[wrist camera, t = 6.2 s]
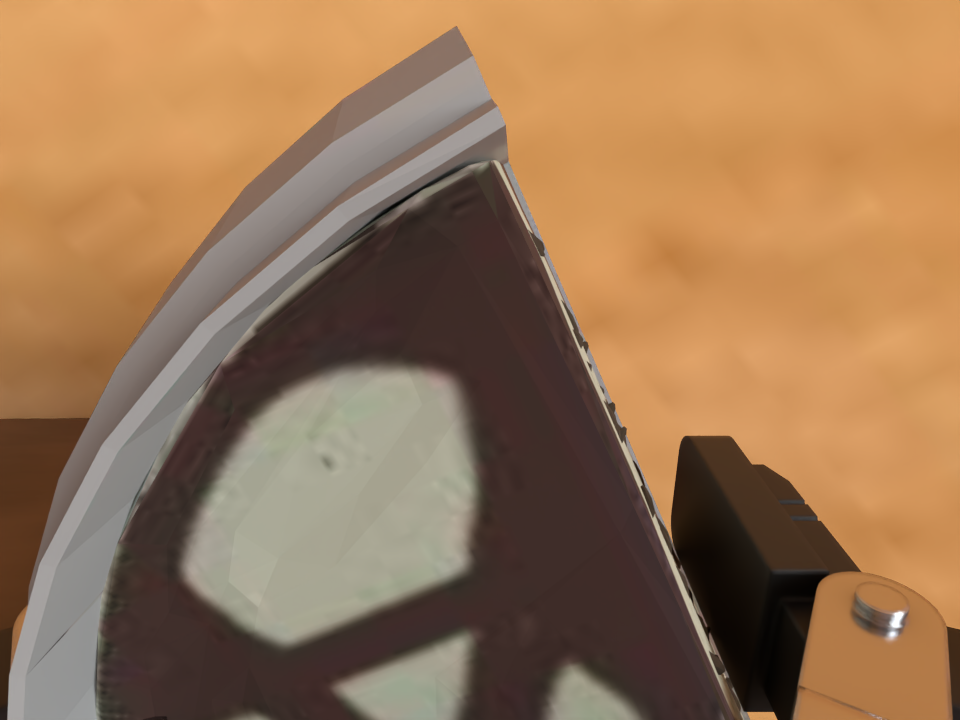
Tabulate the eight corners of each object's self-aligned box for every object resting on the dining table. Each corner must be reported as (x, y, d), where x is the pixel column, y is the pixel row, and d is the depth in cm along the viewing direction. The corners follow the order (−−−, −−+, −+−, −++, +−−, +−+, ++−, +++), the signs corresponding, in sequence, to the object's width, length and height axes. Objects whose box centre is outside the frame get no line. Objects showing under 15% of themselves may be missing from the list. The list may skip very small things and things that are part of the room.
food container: (177, 216, 13) (-598, 525, 4) (469, 70, 12) (444, -24, 3) (456, 666, 17) (430, 1355, 8) (689, 581, 16) (982, 1248, 7)
